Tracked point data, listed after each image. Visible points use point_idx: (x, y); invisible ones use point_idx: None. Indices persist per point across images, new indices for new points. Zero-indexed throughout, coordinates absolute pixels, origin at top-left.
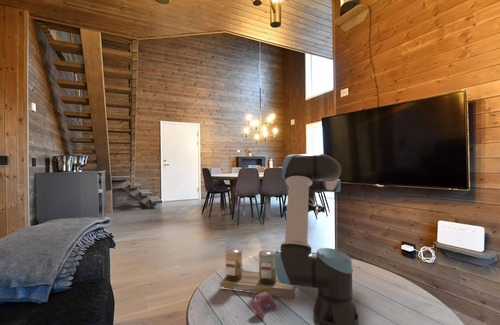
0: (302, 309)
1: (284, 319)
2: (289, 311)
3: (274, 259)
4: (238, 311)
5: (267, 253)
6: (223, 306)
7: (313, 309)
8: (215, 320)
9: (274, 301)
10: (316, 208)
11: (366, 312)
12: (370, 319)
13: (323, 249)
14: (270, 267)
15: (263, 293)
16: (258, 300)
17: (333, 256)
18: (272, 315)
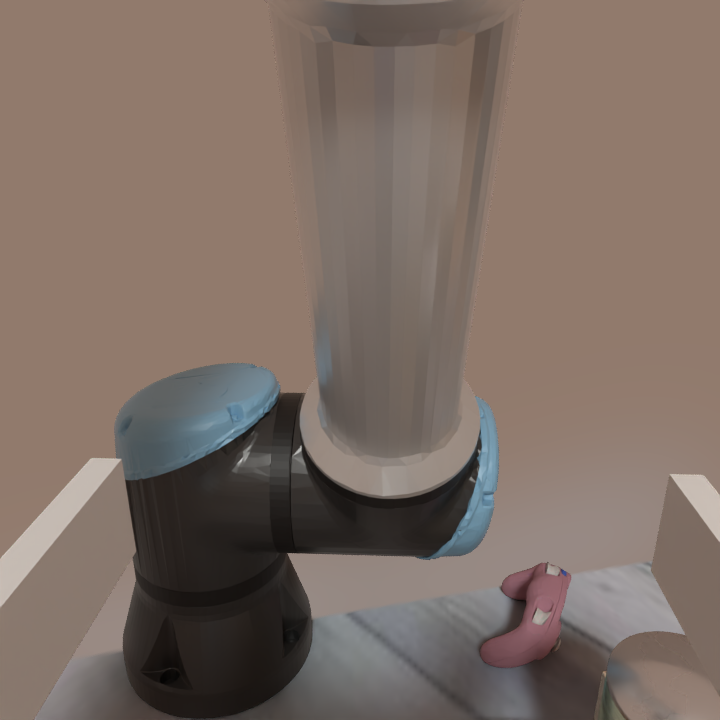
0: (359, 673)
1: (424, 604)
2: (415, 649)
3: (601, 702)
4: (622, 611)
5: (674, 674)
6: None
7: (309, 613)
8: None
9: (491, 639)
10: (68, 513)
11: (52, 709)
12: (68, 664)
13: (238, 395)
14: (600, 688)
15: (547, 611)
16: (540, 568)
17: (209, 372)
18: (477, 615)
